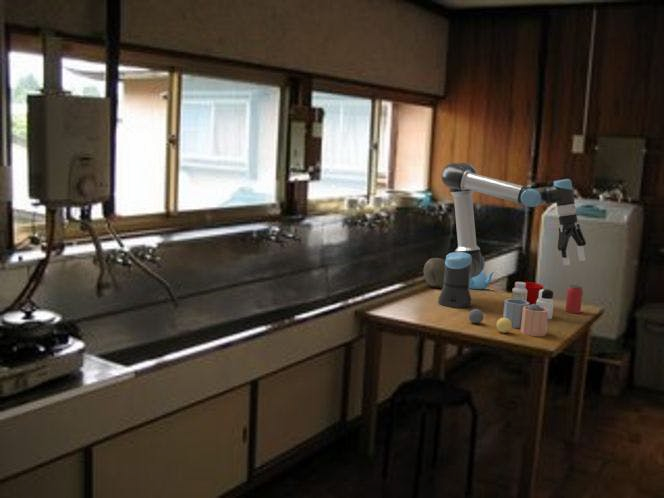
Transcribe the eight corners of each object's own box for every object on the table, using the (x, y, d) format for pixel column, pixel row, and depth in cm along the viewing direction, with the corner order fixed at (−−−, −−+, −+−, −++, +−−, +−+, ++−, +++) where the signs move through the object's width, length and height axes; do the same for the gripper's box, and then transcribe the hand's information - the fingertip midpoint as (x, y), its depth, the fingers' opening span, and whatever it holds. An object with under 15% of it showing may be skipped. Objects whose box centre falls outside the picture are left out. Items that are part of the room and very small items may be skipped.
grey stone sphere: (455, 289, 373) (457, 259, 371) (433, 290, 366) (436, 261, 363) (437, 283, 385) (439, 255, 383) (415, 284, 377) (418, 256, 375)
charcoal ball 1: (465, 321, 307) (466, 307, 306) (476, 320, 310) (477, 307, 309) (474, 325, 302) (475, 311, 301) (485, 324, 305) (487, 310, 304)
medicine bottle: (552, 316, 328) (555, 289, 326) (551, 319, 321) (554, 292, 319) (535, 313, 330) (538, 287, 328) (534, 317, 323) (537, 290, 321)
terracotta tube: (515, 330, 298) (517, 306, 297) (534, 328, 303) (536, 305, 301) (532, 337, 290) (534, 312, 288) (551, 335, 295) (553, 310, 293)
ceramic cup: (533, 301, 357) (536, 280, 355) (544, 309, 340) (547, 288, 338) (507, 299, 356) (509, 279, 355) (517, 307, 339) (519, 286, 338)
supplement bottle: (515, 308, 339) (518, 280, 337) (528, 311, 334) (531, 283, 332) (507, 309, 334) (510, 282, 332) (520, 313, 329) (523, 285, 327)
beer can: (581, 314, 334) (584, 288, 332) (566, 312, 336) (569, 287, 334) (579, 311, 341) (582, 285, 339) (564, 309, 342) (567, 284, 340)
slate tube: (497, 322, 309) (499, 299, 307) (515, 321, 314) (518, 298, 312) (513, 328, 301) (515, 305, 299) (531, 327, 305) (534, 303, 304)
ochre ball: (492, 331, 295) (494, 316, 294) (504, 330, 298) (505, 315, 297) (502, 335, 290) (504, 320, 289) (514, 333, 293) (515, 319, 292)
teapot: (483, 285, 389) (485, 265, 387) (494, 291, 374) (496, 271, 372) (456, 284, 386) (458, 265, 385) (466, 290, 372) (468, 270, 370)
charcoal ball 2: (525, 320, 295) (522, 306, 299) (536, 322, 298) (533, 308, 301) (535, 314, 291) (532, 300, 294) (546, 316, 294) (543, 302, 297)
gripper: (560, 216, 310) (568, 266, 310) (589, 211, 327) (596, 258, 327) (544, 218, 315) (552, 267, 316) (573, 213, 332) (580, 259, 333)
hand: (574, 262), depth 322 cm, fingers open, 13 cm apart
